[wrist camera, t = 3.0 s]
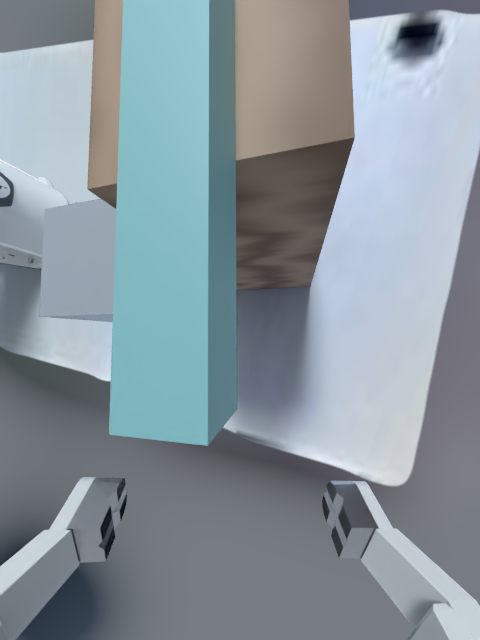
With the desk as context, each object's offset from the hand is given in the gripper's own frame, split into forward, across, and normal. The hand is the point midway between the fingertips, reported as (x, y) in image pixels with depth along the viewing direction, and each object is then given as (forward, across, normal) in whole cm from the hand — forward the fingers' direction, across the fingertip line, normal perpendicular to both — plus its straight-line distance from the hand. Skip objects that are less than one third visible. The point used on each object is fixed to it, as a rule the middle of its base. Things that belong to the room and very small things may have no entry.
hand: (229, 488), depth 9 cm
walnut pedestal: (+30, +6, +8) cm, 32 cm away
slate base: (+33, -11, 0) cm, 35 cm away
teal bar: (+6, -2, +15) cm, 16 cm away
